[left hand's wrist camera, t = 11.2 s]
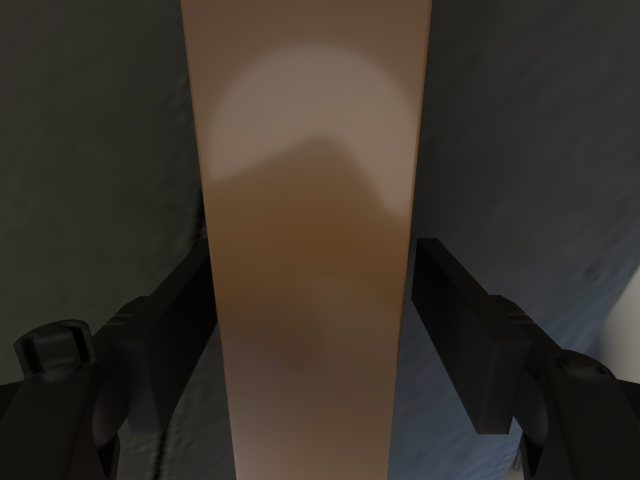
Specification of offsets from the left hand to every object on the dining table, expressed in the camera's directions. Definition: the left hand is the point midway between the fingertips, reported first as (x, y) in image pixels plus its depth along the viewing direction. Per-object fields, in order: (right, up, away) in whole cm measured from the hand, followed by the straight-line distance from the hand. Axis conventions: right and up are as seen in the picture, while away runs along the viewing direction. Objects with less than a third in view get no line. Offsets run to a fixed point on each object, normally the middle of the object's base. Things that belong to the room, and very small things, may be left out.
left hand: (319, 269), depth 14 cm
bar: (0, +25, -6) cm, 25 cm away
